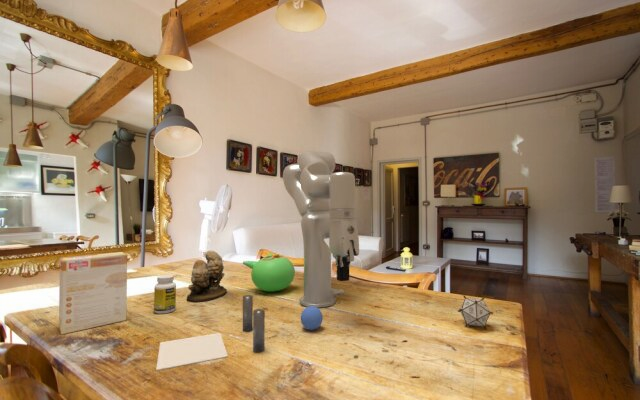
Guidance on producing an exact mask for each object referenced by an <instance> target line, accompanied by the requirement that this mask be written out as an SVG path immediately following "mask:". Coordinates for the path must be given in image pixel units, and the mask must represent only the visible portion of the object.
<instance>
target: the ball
mask: <svg viewBox="0 0 640 400" xmlns="http://www.w3.org/2000/svg"><path fill="white" fill-rule="evenodd" d="M323 318H324V317H323V313H322V311H321V309H320V308H317V307H315V306H309V307H307V306H306V307H305V308H304V309H302V312H301V314H300V322H301V324H302V326H303V327H304V328H305V329H307V330H309V331H313V330H316V329H318V328H320V326H321V325H322V323H323V321H324V320H323Z"/></svg>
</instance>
